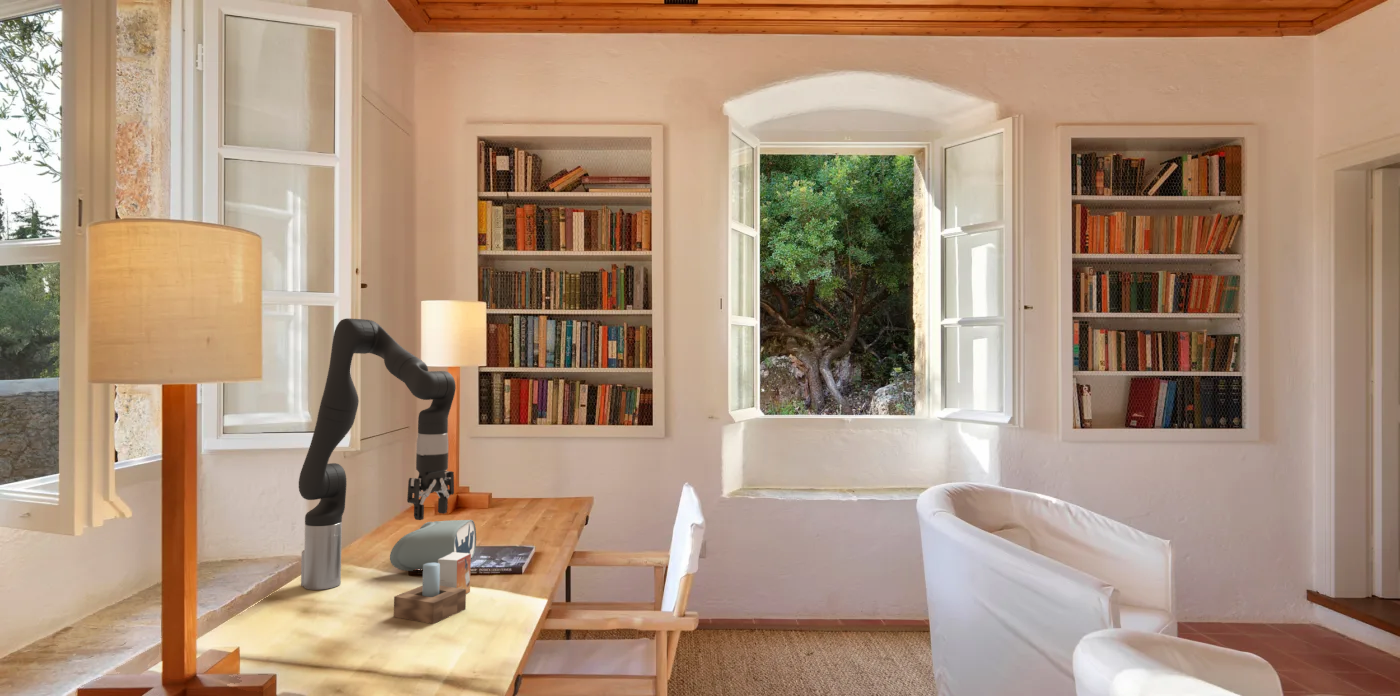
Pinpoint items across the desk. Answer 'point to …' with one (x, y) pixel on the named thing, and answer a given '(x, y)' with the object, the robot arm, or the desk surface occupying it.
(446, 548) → the pencil case
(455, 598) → the socket block
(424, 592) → the peg
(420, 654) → the desk surface
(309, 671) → the desk surface
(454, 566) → the small box
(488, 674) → the desk surface
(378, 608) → the desk surface
